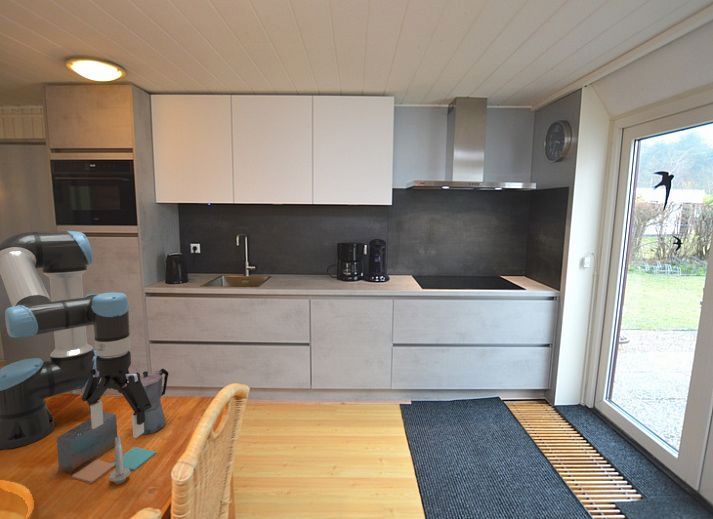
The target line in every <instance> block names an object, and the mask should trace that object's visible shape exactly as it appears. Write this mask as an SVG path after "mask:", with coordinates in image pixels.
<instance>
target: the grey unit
mask: <svg viewBox="0 0 713 519" xmlns="http://www.w3.org/2000/svg"><path fill="white" fill-rule="evenodd" d="M117 422H118V421H117V413H111V412H108V411H103V424H102V425H100V426H98V427H97V428H95V429H92V424H91V418H89V419H87V420H86V421H84V422H82V423H80V424H78V425H77V426H75V427H73V428H71V429H70V430H67V431H65V432H64V433H62V434H60V435H59V436H57V437H56V448H57V450H56V451H57V461H58V462H57V463H58V471H59V472H61V473H65V474H69V475H72V476H73V475H74V474H76V473H77V472H79V471H80V470H82V469H83V468H84V467H86V466H87V465H89V464H90V463H92V462H93V461H95V460H98V459H99V458H100V457H101V456H103V455H104V454H106V453H107V452H109V451H111V450H112V449H113V448H114V447H115V438H116V437H117V436H118V424H117Z"/></svg>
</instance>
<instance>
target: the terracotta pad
mask: <svg viewBox="0 0 713 519" xmlns="http://www.w3.org/2000/svg"><path fill="white" fill-rule="evenodd" d="M111 463H112V462H111ZM111 463H110V462H107V461H102V460H99V459H96V460H94V461H93V462H91V463H90V464H88V465H87V466H85V467H84V468H82V469H81V470H79V471H78V472H76V473H75V474H73V475H72V476H71V479H74V480H78V481H82V482H86V483H89V484H94V483H96V481H98V480H99V479H101V478H102V477H103V476H105V475H107V474H108V473H109V472H111V470H113V469H114V468H115V464H111Z"/></svg>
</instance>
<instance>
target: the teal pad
mask: <svg viewBox="0 0 713 519" xmlns="http://www.w3.org/2000/svg"><path fill="white" fill-rule="evenodd" d="M156 454H157V451H154V450H150V449H146V448H141V447H137V446H134V447H132V448H130V449H129V450H128V451H127V452H125V453H123V466H124V467H126V468H129V469H130V472H136V470H138V469H139V468H140V467H141V466H143V465H144V464H146V462H148V461H149V460H150V459H152V458H153V457H154V456H155V455H156ZM111 464H115V460H114V461H113V462H111Z"/></svg>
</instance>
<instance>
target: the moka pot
mask: <svg viewBox="0 0 713 519" xmlns="http://www.w3.org/2000/svg"><path fill="white" fill-rule="evenodd" d="M163 375H164V377H163ZM168 377H169V371H167V370H166V369H164V368H161V369H160V370H157V371H156V372H154V373H152V372H151V373H149V372H148V371H147V370H146V371H143V372H142V374H140V380H141V383H142V385H143V387H144V389H145V392H146V394H147V396H148V398H149V401H150V403H151V405H152V407H151V408H150V409H148V410H146V411H145V422H144V433H142V434H141V435H150V434H153V433H156V432H158V431H160V430H161V429H162V428H163V427H165V426H166V417H165V414H164V410H163V406H162V405H163V404H162V403H161V402H162V401H161V399H162V396H164V395H165V394H166V390H167V385H168ZM163 380H164V381H163ZM138 408H139V407H138Z"/></svg>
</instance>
